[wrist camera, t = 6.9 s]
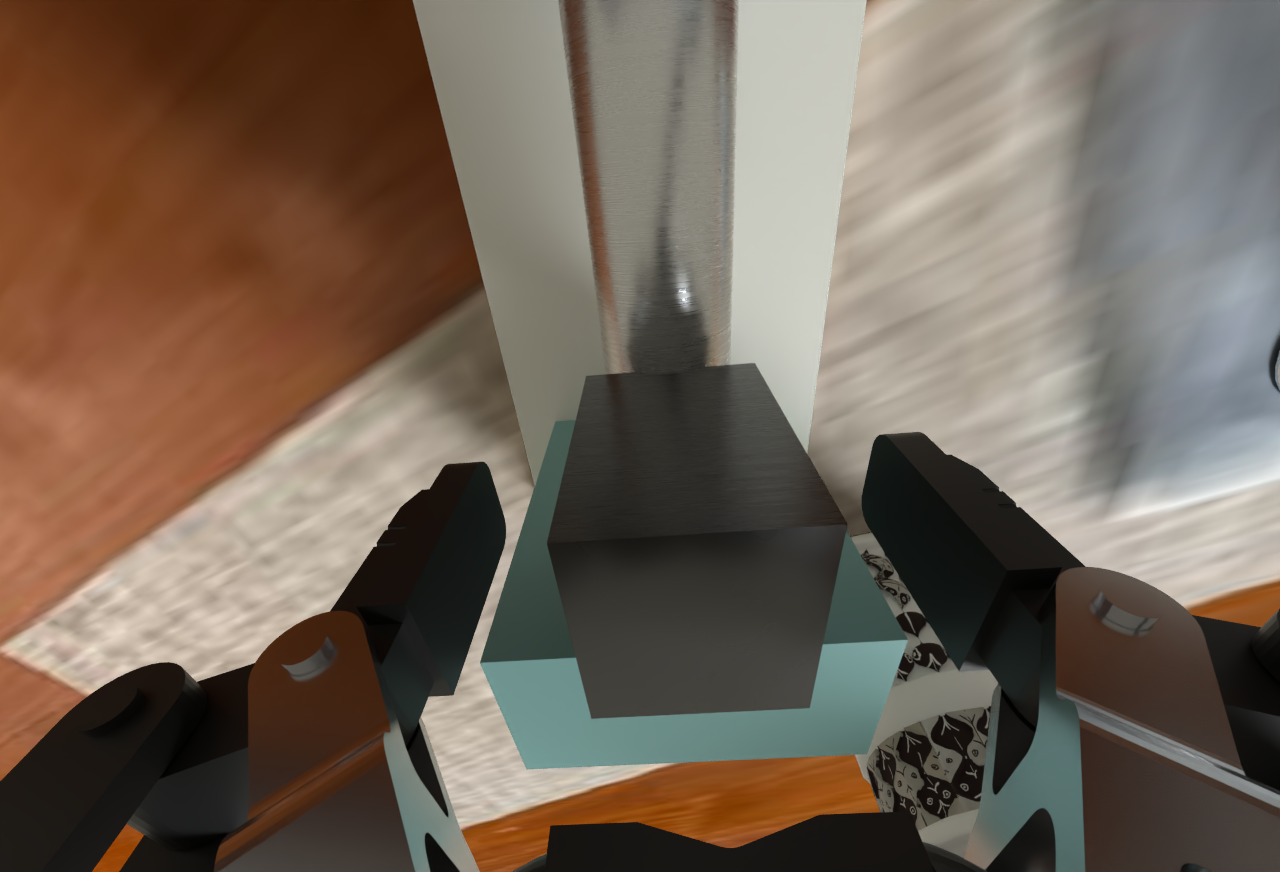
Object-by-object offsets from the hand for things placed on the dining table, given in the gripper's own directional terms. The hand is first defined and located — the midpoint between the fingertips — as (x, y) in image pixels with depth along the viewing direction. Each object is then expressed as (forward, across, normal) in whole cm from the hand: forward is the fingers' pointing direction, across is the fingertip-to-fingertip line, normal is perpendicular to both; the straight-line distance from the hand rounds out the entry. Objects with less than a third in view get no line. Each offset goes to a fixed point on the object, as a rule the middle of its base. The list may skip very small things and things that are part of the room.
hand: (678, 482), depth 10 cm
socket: (+9, 0, +5) cm, 10 cm away
